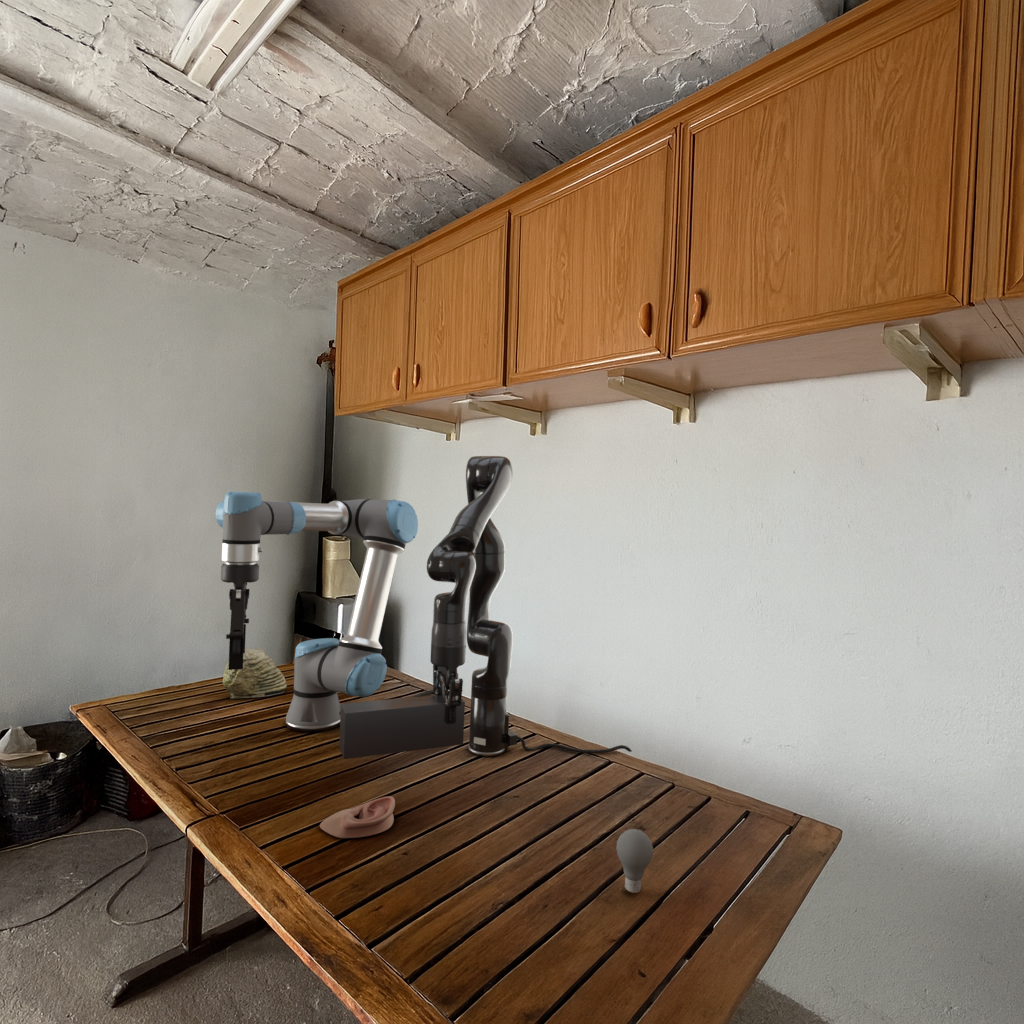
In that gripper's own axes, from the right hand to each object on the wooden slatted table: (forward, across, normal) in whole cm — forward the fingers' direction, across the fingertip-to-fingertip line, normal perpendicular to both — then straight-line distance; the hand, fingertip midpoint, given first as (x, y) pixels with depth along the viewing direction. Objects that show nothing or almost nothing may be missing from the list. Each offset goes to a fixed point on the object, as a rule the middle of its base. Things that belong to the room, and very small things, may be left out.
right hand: (445, 718), depth 138 cm
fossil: (+16, +81, +36) cm, 90 cm away
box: (+5, 0, +9) cm, 11 cm away
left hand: (-11, +18, +42) cm, 47 cm away
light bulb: (+16, -44, -19) cm, 51 cm away
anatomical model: (+16, -8, +20) cm, 27 cm away
